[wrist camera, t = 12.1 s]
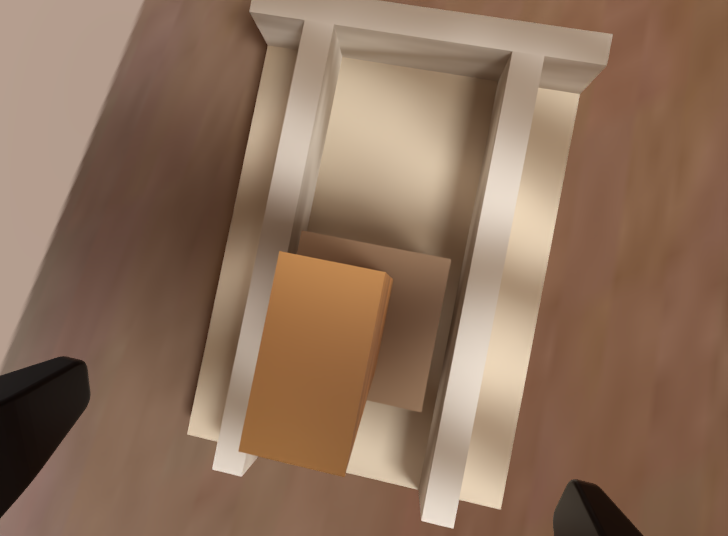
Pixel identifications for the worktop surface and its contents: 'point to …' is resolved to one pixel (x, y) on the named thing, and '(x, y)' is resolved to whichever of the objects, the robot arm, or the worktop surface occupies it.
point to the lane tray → (406, 214)
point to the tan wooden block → (340, 347)
